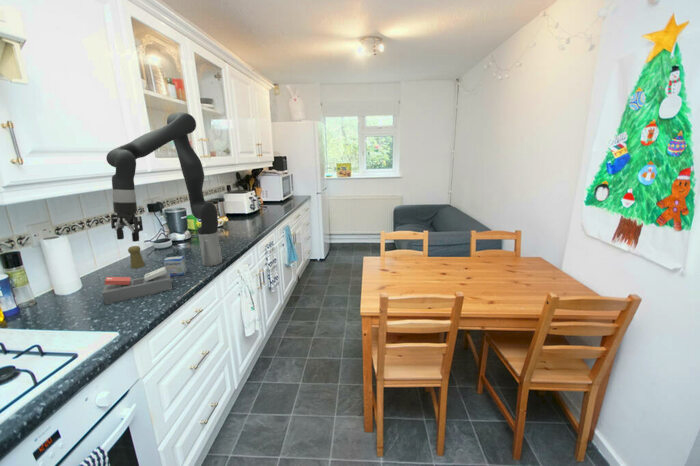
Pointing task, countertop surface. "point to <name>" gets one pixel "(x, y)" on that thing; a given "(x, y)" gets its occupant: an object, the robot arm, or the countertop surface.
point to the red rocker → (117, 280)
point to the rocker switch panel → (136, 288)
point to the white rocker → (155, 273)
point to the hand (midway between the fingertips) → (128, 240)
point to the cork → (136, 257)
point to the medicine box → (175, 265)
